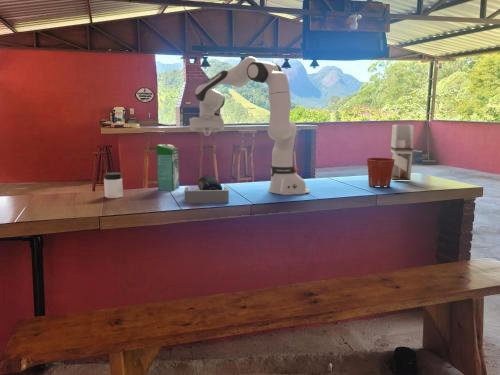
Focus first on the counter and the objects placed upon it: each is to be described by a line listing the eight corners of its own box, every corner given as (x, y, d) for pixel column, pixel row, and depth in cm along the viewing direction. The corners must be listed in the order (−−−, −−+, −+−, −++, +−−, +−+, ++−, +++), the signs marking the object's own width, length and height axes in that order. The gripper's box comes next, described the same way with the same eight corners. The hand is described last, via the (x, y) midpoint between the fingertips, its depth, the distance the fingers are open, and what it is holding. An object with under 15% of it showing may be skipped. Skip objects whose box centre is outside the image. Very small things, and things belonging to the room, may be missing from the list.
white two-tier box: (388, 178, 279) (392, 124, 272) (405, 179, 278) (409, 125, 271) (392, 181, 268) (396, 125, 261) (410, 182, 267) (414, 125, 260)
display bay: (227, 198, 215) (227, 186, 214) (228, 202, 206) (228, 190, 205) (185, 199, 213) (185, 187, 212) (184, 203, 204) (184, 191, 203)
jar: (113, 194, 223) (112, 171, 221) (126, 195, 220) (125, 172, 218) (101, 197, 215) (100, 174, 213) (114, 199, 212) (113, 175, 210)
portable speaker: (197, 192, 231) (196, 174, 229) (215, 191, 233) (215, 173, 231) (203, 202, 207) (203, 182, 205) (224, 201, 209) (223, 181, 208)
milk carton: (173, 190, 234) (172, 145, 229) (157, 190, 236) (156, 144, 231) (179, 187, 243) (178, 143, 238) (164, 187, 244) (162, 143, 240)
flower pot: (359, 185, 254) (360, 158, 251) (374, 182, 265) (376, 156, 262) (383, 189, 242) (385, 161, 239) (399, 186, 252) (401, 159, 249)
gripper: (189, 113, 251) (188, 131, 243) (223, 113, 253) (224, 131, 246) (189, 121, 256) (189, 138, 249) (223, 121, 258) (224, 138, 251)
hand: (207, 135), depth 247 cm, fingers closed
